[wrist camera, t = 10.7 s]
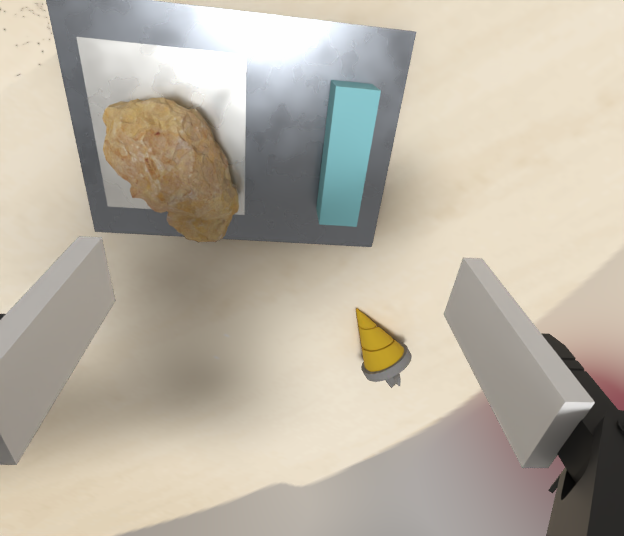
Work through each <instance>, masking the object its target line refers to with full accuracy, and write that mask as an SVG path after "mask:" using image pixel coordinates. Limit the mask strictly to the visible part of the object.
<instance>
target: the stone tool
mask: <svg viewBox="0 0 624 536" xmlns="http://www.w3.org/2000/svg"><path fill="white" fill-rule="evenodd" d="M102 119H103V122H104V124H105V125H106V136H105V140H104V145H103V152H104V155H105V159H106V161H107V162H108V163H109V164H110V166H111V167H112V168H113V169H114V170H115V171H116V173H117V174H118V176H120V177H121V178H123V179H124V180H126V181H128V182H129V183H130V184H131V188H130V193H131V196H132V198H141V199H143V200H144V201H146V203H147V204H148V206H149V207H150V208H151V209H152V210H154V211H155V212H159V213H162V212H166V211H167V212H168V215H167V222H168V223H169V225H170V226H173V227H174V228H175V229H176V230H177V232H179V233H181V234H182V235H184V236H185V238H186V239H188V240H195V241H197V242H216V241H217V240H220V239H222V238H223V237H224V236H225V234H226V231H227V228H228V226H229V224H230V222H231V220H232V215H234V214H235V213H237V212H238V209H239V202H238V193H237V189H236V188H235V187H234V186H233V184H232V182H231V177H230V173H229V168H228V161H227V158H226V156H225V155H224V153H223V151H222V150H221V148H220V146H219V145H218V144H217V142H216V141H214V137H213V134H212V131H211V129H210V127H209V126H208V124H207V123H206V121H205V120H204V118H203V117H202V116H201V114H200V113H199V112H198V111H197V110H196V109H186V108H184V107H182V106H180V105H178V104H176V103H175V102H174V101H171V100H168V99H165V98H162V97H160V98H150V99H147V100H144V101H143V100H139V99H135V100H131V101H129V102H124V101H120V102H118V103H114V104H111V105H109V106H108V107H107V108H106V109H105V111H104V113H103V117H102Z"/></svg>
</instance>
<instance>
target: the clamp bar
mask: <svg viewBox="0 0 624 536" xmlns="http://www.w3.org/2000/svg"><path fill="white" fill-rule="evenodd" d="M380 93H381V90H379V89H378V88H377V87H375V86H374V85H373V84H367V83H358V82H348V81H338V80H331V85H330V94H329V102H328V111H327V120H326V129H325V137H324V146H323V155H322V163H321V172H320V181H319V189H318V198H317V207H316V210H317V215H318V221H319V224H320V225H336V226H352V227H357V222H358V217H359V211H360V205H361V200H362V194H363V189H364V183H365V177H366V172H367V166H368V161H369V155H370V149H371V144H372V138H373V132H374V127H375V121H376V116H377V110H378V104H379V99H380Z"/></svg>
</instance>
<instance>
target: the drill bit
mask: <svg viewBox="0 0 624 536" xmlns="http://www.w3.org/2000/svg"><path fill="white" fill-rule="evenodd" d="M356 314H357V320H358V327H359V333H360V340H361V347H362V353H363V360H364V362H363V364H362V367H361V368H362V371H363V373H364V375H365V376H366V378H367V379H368V380H370V381H374V382H377V381H383V380H386V382H387V383H388V384H389V386H390V387H391V388H392V387H393V386H394V385H395V384H397V385H399V386H400V374H399V373H400V372H401V371H403V370H404V369H405V368H406V367H407V366H408V364H409V363H410V361H411V353H410V352H409V350H408V348H407V346H406V345H405V344H403V343H398V342H397V341H395V340H394V339H393V338H392V337H391V336H389V335H388V334H387V333H386V332H385V331H384V330H382V329H381V328H380V327H379V326H378V327H376V324H375V323H374V322H373V321H372V320H370V319H369V318H368V317H367V316H366V315H365V314H363V313H362V312H360V310H359V309H357V308H356Z"/></svg>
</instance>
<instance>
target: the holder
mask: <svg viewBox="0 0 624 536" xmlns="http://www.w3.org/2000/svg"><path fill="white" fill-rule="evenodd" d="M46 2H47V6H48V11H49V16H50V20H51V25H52V30H53V35H54V39H55V44H56V49H57V54H58V58H59V63H60V68H61V73H62V77H63V82H64V87H65V92H66V96H67V101H68V106H69V111H70V115H71V120H72V125H73V129H74V134H75V139H76V144H77V148H78V153H79V158H80V163H81V167H82V172H83V177H84V182H85V186H86V191H87V196H88V201H89V205H90V210H91V215H92V220H93V224H94V229H95V232H112V233H130V234H147V235H165V236H183V237H185V236H184V235H182V234H181V233H179V232H177V230H176V229H175V228H174V227H173V226H170V225H169V223H168V222H167V215H168V212H167V211H166V212H162V213H159V212H155V211H154V210H152V209H151V208H150V207H149V206H148V204H147V203H146V201H144V200H143V199H141V198H132V196H131V193H130V188H131V184H130V183H129V182H128V181H126V180H124V179H123V178H121V177H120V176H118V174H117V173H116V171H115V170H114V169H113V168H112V167H111V166H110V164H109V163H108V162H107V161H106V159H105V155H104V152H103V145H104V140H105V136H106V125H105V124H104V122H103V119H102V117H103V113H104V111H105V109H106V108H107V107H108V106H109V105H111V104H114V103H118V102H120V101H124V102H129V101H131V100H135V99H139V100H143V101H144V100H147V99H150V98H160V97H162V98H165V99H168V100H171V101H174V102H175V103H176V104H178V105H180V106H182V107H184V108H186V109H196V110H197V111H198V112H199V113H200V114H201V116H202V117H203V118H204V120H205V121H206V123H207V124H208V126H209V127H210V129H211V131H212V134H213V137H214V141H216V142H217V144H218V145H219V146H220V148H221V150H222V151H223V153H224V155H225V156H226V158H227V161H228V168H229V173H230V177H231V182H232V184H233V186H234V187H235V188H236V189H237V193H238V202H239V209H238V212H237V213H235V214H234V215H232V220H231V222H230V224H229V226H228V228H227V231H226V234H225V236H224V237H223V238H222V239H237V240H255V241H272V242H290V243H308V244H326V245H344V246H362V247H372V243H373V239H374V234H375V229H376V224H377V219H378V214H379V209H380V205H381V200H382V195H383V190H384V185H385V180H386V176H387V171H388V166H389V161H390V156H391V151H392V147H393V142H394V137H395V132H396V127H397V122H398V118H399V113H400V108H401V103H402V98H403V93H404V89H405V84H406V79H407V74H408V69H409V64H410V60H411V55H412V50H413V45H414V40H415V35H416V32H414V31H406V30H397V29H389V28H380V27H372V26H363V25H355V24H347V23H338V22H330V21H321V20H313V19H304V18H296V17H288V16H279V15H271V14H262V13H254V12H246V11H237V10H229V9H220V8H212V7H203V6H195V5H187V4H178V3H170V2H161V1H153V0H46ZM331 80H338V81H348V82H358V83H367V84H373V85H374V86H375V87H377V88H378V89H379V90H381V93H380V99H379V104H378V110H377V116H376V121H375V127H374V132H373V138H372V144H371V149H370V155H369V161H368V166H367V172H366V177H365V183H364V189H363V194H362V200H361V205H360V211H359V217H358V222H357V227H352V226H336V225H320V224H319V221H318V215H317V210H316V207H317V198H318V189H319V181H320V172H321V163H322V155H323V146H324V137H325V129H326V120H327V111H328V102H329V94H330V85H331Z"/></svg>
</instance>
